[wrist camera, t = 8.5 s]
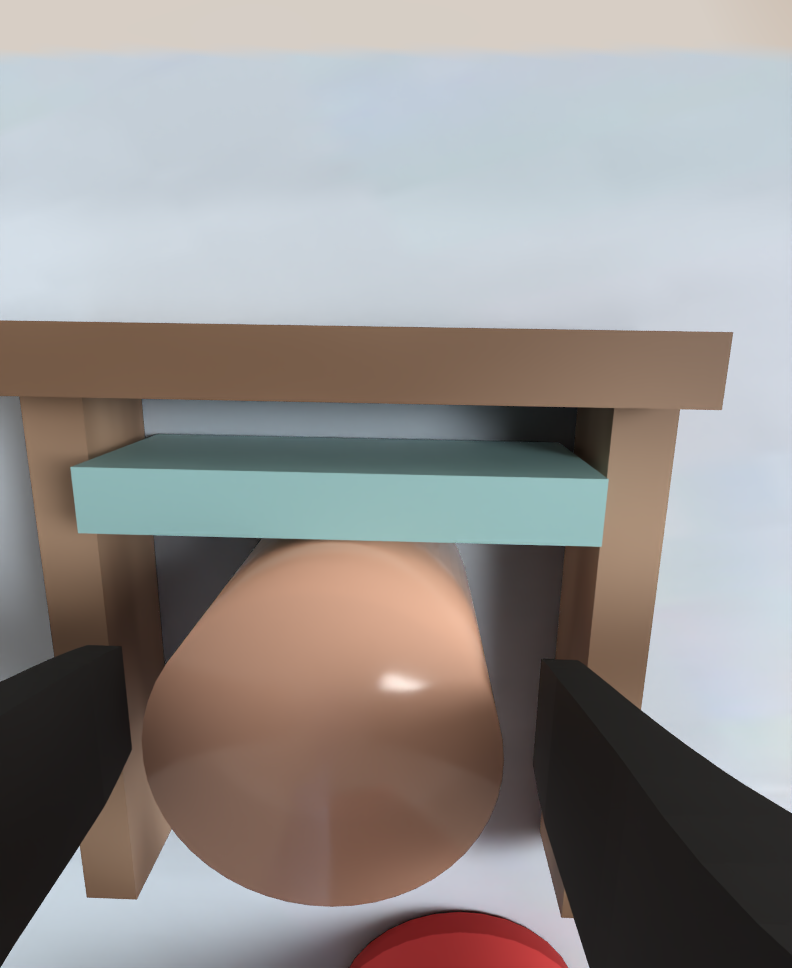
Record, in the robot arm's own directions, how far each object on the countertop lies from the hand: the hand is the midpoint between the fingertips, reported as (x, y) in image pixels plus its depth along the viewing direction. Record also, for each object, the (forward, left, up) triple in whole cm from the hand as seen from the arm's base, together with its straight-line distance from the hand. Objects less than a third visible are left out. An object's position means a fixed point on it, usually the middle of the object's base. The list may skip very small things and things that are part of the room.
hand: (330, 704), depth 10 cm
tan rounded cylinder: (0, 0, -5) cm, 5 cm away
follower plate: (+3, 0, -5) cm, 6 cm away
